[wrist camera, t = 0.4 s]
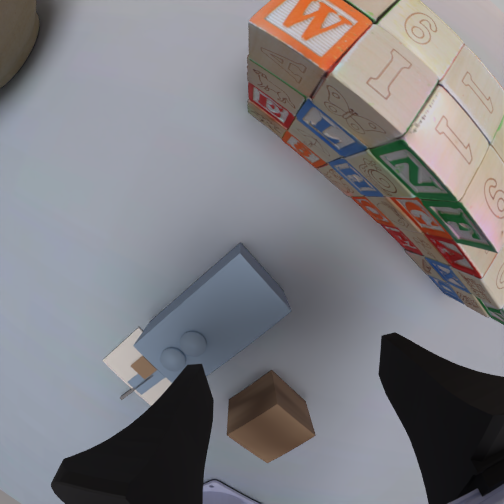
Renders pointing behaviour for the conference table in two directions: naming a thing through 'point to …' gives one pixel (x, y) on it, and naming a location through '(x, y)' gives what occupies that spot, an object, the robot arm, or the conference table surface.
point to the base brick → (214, 316)
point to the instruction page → (137, 370)
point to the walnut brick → (269, 418)
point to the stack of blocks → (393, 127)
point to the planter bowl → (16, 35)
